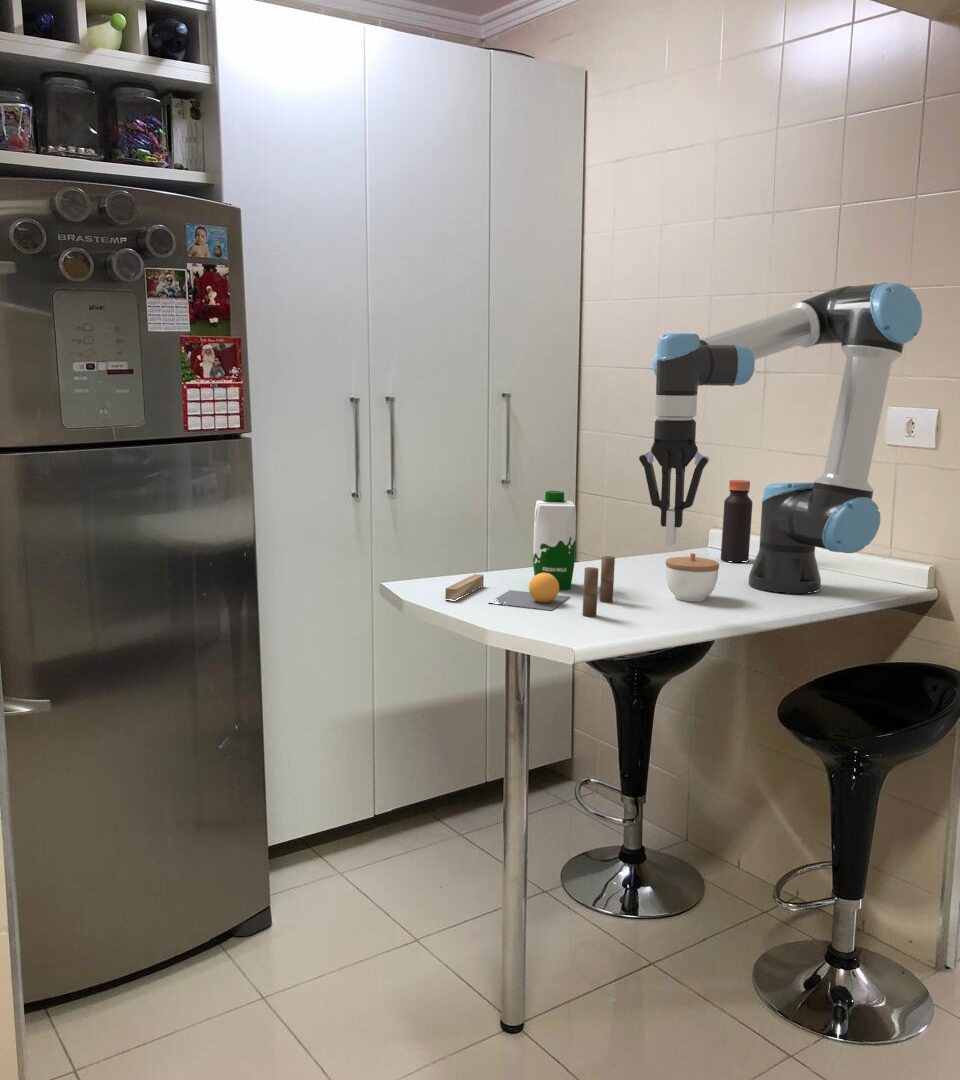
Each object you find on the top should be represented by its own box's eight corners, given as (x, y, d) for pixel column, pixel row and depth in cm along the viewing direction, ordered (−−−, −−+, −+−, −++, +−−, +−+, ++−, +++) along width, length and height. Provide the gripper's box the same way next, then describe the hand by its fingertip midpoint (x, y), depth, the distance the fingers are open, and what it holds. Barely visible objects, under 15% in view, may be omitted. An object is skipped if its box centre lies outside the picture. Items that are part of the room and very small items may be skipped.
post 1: (597, 614, 193) (600, 568, 192) (594, 617, 191) (596, 570, 190) (584, 613, 194) (586, 566, 193) (581, 615, 192) (583, 569, 190)
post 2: (614, 600, 206) (616, 556, 204) (611, 603, 203) (613, 558, 202) (601, 599, 206) (603, 555, 205) (598, 601, 204) (600, 557, 203)
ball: (546, 564, 204) (527, 585, 206) (538, 569, 198) (519, 591, 200) (568, 584, 203) (548, 605, 205) (561, 590, 197) (541, 612, 199)
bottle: (754, 562, 252) (760, 481, 249) (734, 564, 248) (740, 482, 245) (734, 557, 258) (739, 478, 254) (714, 559, 254) (719, 479, 251)
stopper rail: (483, 586, 216) (483, 574, 215) (454, 601, 201) (454, 589, 200) (474, 585, 216) (474, 574, 216) (445, 600, 201) (445, 588, 201)
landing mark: (570, 597, 207) (570, 596, 207) (551, 610, 195) (551, 609, 195) (510, 590, 212) (510, 590, 212) (488, 603, 200) (488, 602, 200)
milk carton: (570, 582, 223) (574, 491, 219) (575, 591, 214) (579, 496, 210) (530, 581, 222) (533, 490, 219) (533, 590, 213) (537, 495, 210)
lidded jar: (716, 594, 214) (719, 550, 212) (717, 606, 203) (720, 559, 202) (664, 591, 216) (667, 547, 214) (662, 602, 206) (665, 556, 204)
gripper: (714, 418, 189) (708, 543, 193) (644, 416, 194) (640, 538, 198) (708, 420, 182) (702, 549, 186) (636, 418, 187) (632, 544, 191)
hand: (670, 543), depth 192 cm, fingers closed
